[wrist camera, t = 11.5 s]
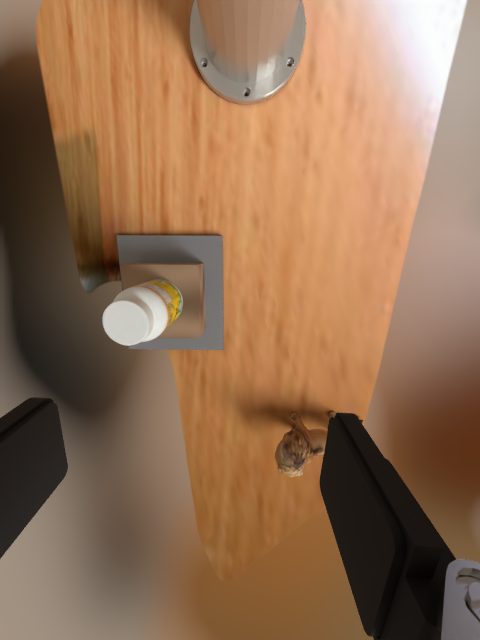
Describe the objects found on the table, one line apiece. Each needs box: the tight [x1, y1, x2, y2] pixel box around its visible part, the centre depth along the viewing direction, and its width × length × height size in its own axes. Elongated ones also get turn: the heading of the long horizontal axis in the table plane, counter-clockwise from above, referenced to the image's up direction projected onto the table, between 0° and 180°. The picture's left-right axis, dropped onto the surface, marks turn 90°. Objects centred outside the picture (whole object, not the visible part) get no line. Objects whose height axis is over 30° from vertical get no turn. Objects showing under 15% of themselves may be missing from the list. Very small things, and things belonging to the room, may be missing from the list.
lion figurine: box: [275, 411, 363, 477], centre depth 37 cm, size 15×5×9 cm, turn 99°
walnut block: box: [120, 263, 206, 339], centre depth 33 cm, size 9×9×5 cm
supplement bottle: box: [102, 279, 183, 345], centre depth 26 cm, size 5×5×10 cm
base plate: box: [116, 235, 224, 350], centre depth 36 cm, size 16×14×1 cm
